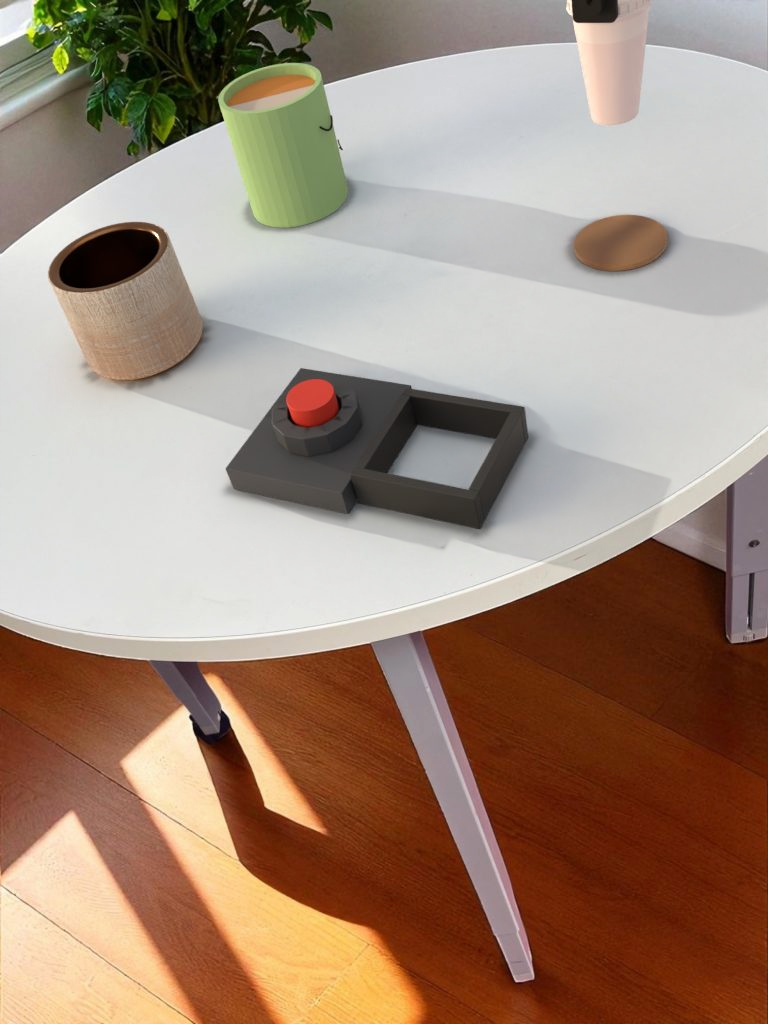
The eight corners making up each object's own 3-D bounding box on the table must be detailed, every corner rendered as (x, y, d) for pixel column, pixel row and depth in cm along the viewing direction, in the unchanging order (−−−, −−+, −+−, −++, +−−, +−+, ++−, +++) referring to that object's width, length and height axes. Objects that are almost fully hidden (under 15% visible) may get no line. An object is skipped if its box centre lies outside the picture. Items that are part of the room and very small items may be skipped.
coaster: (678, 223, 94) (678, 217, 94) (652, 275, 90) (652, 270, 89) (590, 216, 98) (590, 211, 97) (561, 266, 93) (561, 261, 93)
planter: (66, 376, 96) (20, 287, 89) (131, 304, 102) (93, 216, 95) (164, 392, 91) (124, 299, 85) (226, 315, 98) (193, 224, 91)
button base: (416, 406, 84) (407, 366, 81) (348, 514, 77) (336, 475, 74) (307, 388, 88) (295, 350, 85) (233, 489, 81) (217, 451, 78)
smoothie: (662, 125, 82) (660, -69, 73) (578, 139, 83) (565, -50, 74) (649, 88, 87) (646, -99, 77) (570, 102, 88) (557, -81, 78)
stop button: (347, 400, 80) (342, 382, 79) (325, 432, 78) (319, 414, 77) (306, 393, 82) (300, 375, 81) (283, 424, 80) (277, 406, 78)
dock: (529, 437, 79) (525, 406, 77) (480, 529, 73) (474, 499, 71) (412, 417, 83) (405, 387, 81) (358, 503, 78) (349, 474, 75)
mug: (358, 211, 106) (331, 95, 98) (256, 237, 106) (220, 123, 98) (342, 154, 115) (316, 43, 107) (248, 178, 115) (215, 69, 107)
